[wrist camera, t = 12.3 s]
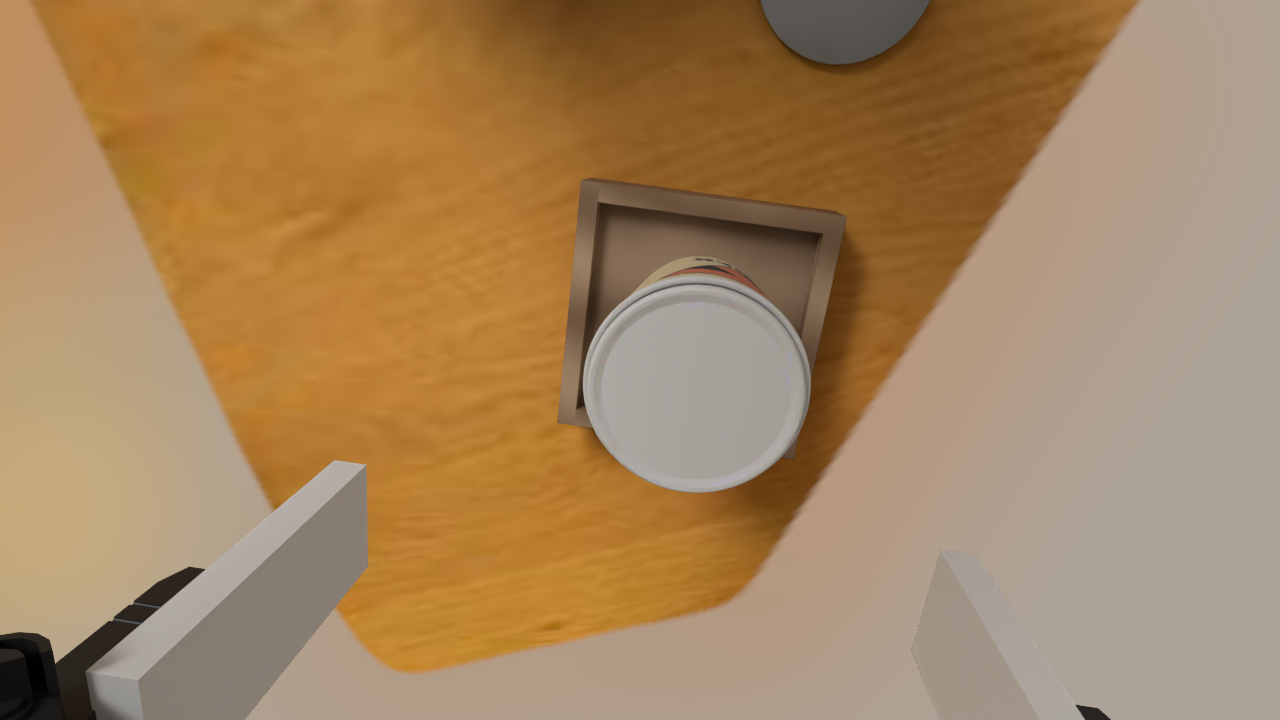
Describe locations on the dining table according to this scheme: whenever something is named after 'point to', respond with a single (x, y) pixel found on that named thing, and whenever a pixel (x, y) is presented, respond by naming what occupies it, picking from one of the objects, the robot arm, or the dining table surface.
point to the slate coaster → (841, 26)
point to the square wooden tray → (684, 227)
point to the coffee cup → (697, 378)
